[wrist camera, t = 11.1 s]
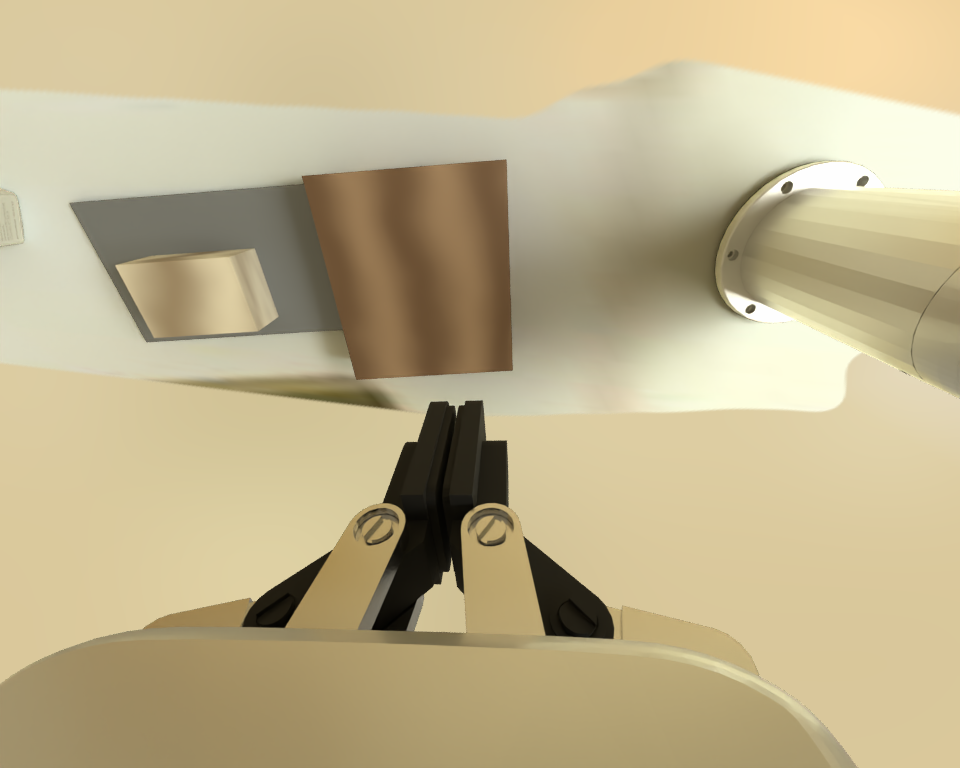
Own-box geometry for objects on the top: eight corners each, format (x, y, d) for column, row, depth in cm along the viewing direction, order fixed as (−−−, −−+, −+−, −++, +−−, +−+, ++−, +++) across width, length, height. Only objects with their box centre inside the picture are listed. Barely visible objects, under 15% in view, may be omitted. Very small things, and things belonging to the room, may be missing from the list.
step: (503, 160, 29) (506, 159, 25) (509, 351, 37) (512, 370, 33) (323, 175, 29) (301, 176, 26) (368, 359, 37) (356, 379, 34)
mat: (318, 183, 29) (316, 183, 29) (354, 326, 35) (353, 328, 35) (75, 202, 30) (69, 203, 30) (150, 340, 36) (146, 342, 36)
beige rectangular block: (114, 265, 29) (151, 255, 32) (154, 338, 32) (183, 322, 35) (229, 256, 28) (254, 248, 31) (258, 331, 31) (278, 316, 34)
